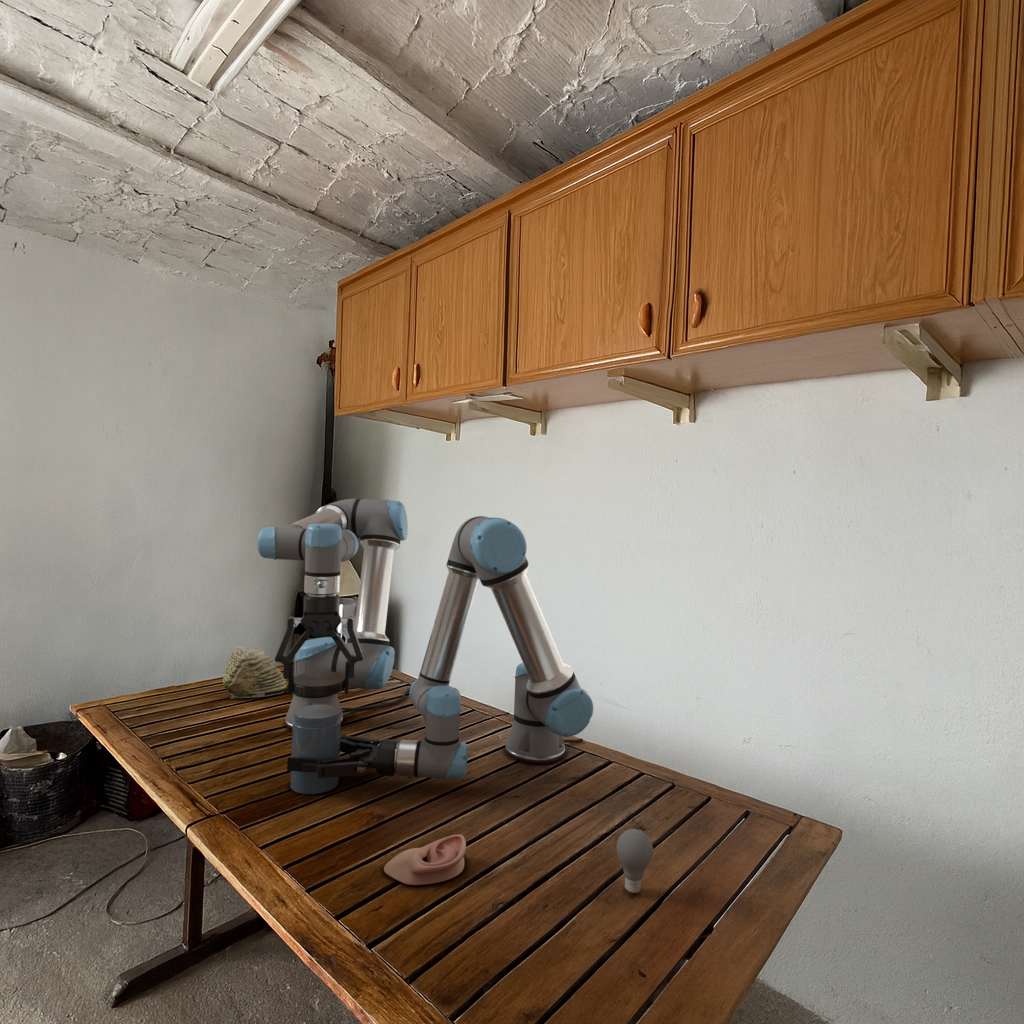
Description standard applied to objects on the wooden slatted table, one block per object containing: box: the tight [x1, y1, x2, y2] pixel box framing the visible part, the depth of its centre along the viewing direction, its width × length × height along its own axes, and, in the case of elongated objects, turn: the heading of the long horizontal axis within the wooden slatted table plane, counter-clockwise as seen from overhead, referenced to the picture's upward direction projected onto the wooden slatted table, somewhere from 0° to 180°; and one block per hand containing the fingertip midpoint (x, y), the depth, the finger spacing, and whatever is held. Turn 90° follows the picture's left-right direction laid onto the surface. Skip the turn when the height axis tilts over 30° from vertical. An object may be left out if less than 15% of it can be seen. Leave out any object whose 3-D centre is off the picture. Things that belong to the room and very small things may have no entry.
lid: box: [292, 671, 345, 697], centre depth 140 cm, size 11×11×2 cm
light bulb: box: [615, 828, 654, 894], centre depth 106 cm, size 6×6×10 cm
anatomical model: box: [383, 834, 467, 886], centre depth 110 cm, size 13×4×12 cm
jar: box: [289, 704, 342, 795], centre depth 140 cm, size 10×10×16 cm
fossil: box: [222, 646, 288, 699], centre depth 198 cm, size 9×18×15 cm, turn 132°
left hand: (318, 692), depth 140 cm, fingers closed on lid, 11 cm apart
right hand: (296, 753), depth 140 cm, fingers closed on jar, 10 cm apart
